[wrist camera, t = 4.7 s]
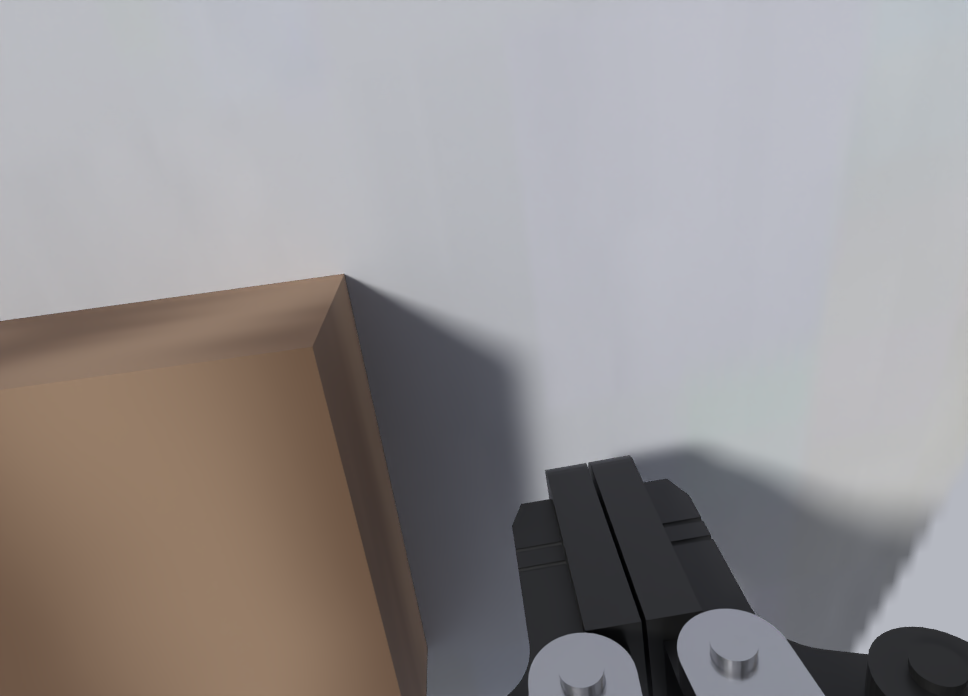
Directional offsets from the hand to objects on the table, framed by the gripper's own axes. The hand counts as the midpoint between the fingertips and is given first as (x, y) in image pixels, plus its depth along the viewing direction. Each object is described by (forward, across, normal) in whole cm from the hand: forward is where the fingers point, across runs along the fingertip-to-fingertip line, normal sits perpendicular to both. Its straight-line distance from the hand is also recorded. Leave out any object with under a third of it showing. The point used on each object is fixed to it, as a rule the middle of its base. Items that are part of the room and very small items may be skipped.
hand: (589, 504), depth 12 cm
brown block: (+2, +10, 0) cm, 10 cm away
